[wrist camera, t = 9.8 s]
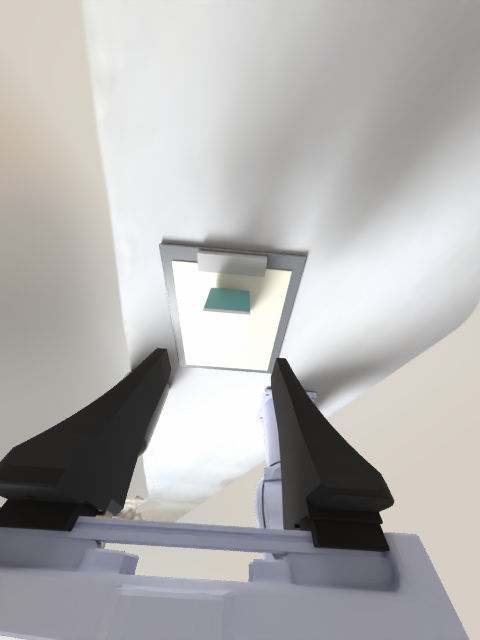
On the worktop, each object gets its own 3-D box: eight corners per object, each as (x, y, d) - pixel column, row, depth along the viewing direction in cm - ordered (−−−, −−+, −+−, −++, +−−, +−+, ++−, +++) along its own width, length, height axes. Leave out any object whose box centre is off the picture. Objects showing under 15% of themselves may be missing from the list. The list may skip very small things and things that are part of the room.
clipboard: (273, 370, 26) (274, 378, 25) (180, 363, 26) (177, 371, 25) (304, 256, 17) (308, 260, 16) (161, 243, 17) (155, 247, 16)
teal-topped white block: (246, 316, 20) (245, 349, 16) (212, 313, 20) (204, 345, 16) (249, 286, 18) (250, 314, 14) (212, 283, 18) (202, 310, 14)
